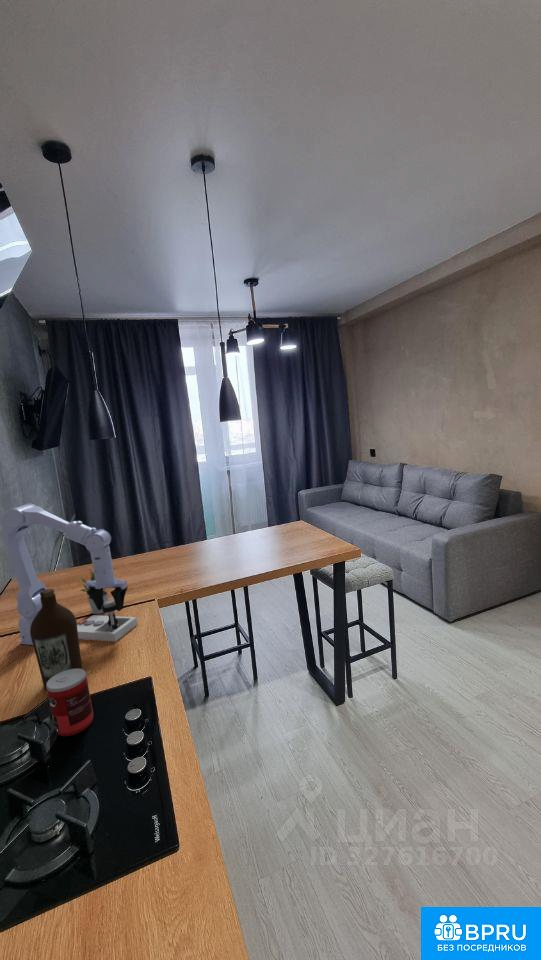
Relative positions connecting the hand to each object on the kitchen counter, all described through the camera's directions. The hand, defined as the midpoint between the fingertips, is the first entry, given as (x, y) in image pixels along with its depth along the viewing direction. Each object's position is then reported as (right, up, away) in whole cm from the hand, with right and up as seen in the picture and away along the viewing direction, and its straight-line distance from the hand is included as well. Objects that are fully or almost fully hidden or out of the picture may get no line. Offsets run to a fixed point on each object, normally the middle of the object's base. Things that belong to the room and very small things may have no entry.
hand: (110, 609), depth 135 cm
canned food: (+8, -12, -42) cm, 45 cm away
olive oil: (-3, -12, -25) cm, 28 cm away
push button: (+1, -8, +1) cm, 8 cm away
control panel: (-3, -8, +2) cm, 9 cm away
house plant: (-10, -7, +19) cm, 23 cm away
